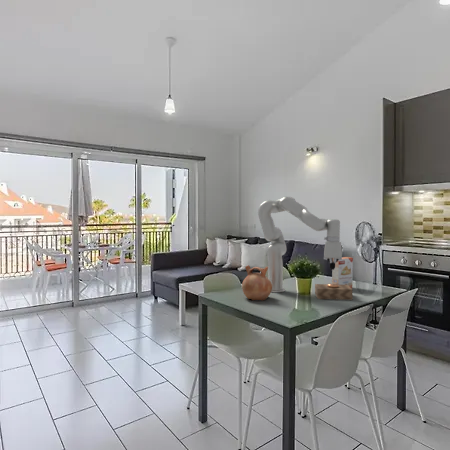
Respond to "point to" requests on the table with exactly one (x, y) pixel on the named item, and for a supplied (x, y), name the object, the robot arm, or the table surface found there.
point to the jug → (256, 284)
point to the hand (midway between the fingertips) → (332, 269)
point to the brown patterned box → (333, 292)
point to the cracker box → (343, 272)
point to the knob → (332, 285)
